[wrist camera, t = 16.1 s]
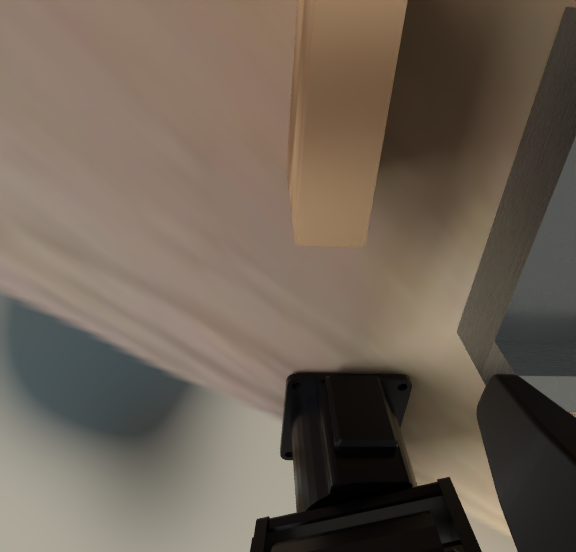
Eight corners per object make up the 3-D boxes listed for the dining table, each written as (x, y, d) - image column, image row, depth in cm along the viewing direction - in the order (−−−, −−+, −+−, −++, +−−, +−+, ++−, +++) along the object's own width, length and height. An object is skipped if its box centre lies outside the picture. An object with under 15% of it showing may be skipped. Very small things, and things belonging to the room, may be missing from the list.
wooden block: (337, 172, 19) (364, 247, 14) (286, 170, 18) (295, 245, 13) (368, -81, 14) (426, -108, 9) (303, -87, 14) (324, -118, 9)
